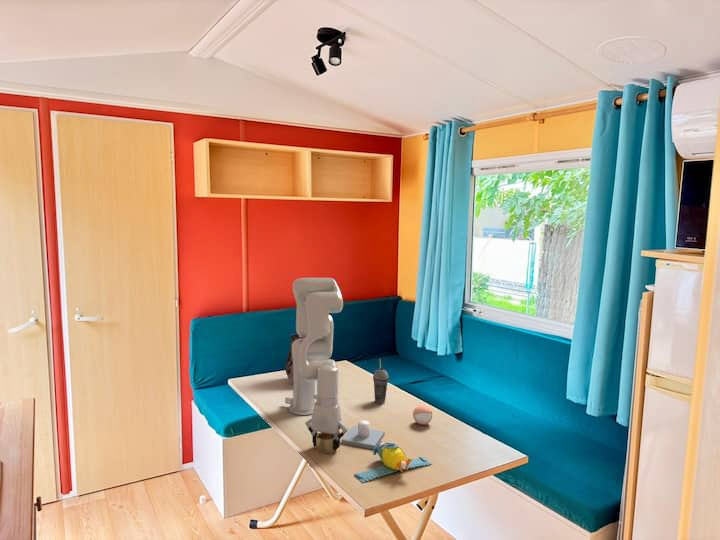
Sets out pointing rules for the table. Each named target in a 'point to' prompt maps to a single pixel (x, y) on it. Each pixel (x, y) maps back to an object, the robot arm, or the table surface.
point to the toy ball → (422, 414)
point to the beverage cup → (380, 385)
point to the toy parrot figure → (390, 462)
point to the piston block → (363, 436)
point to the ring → (325, 443)
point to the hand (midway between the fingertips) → (326, 446)
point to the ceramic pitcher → (291, 357)
